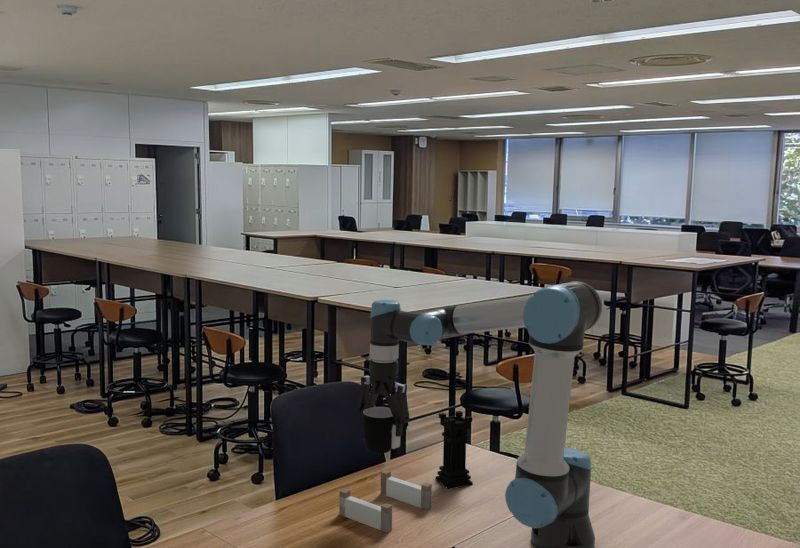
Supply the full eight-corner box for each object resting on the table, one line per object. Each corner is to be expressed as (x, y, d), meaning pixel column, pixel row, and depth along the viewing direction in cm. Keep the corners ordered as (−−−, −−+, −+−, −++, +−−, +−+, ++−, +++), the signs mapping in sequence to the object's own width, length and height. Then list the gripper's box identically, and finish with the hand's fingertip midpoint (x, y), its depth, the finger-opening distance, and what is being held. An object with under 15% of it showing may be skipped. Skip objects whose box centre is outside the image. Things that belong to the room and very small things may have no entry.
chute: (431, 507, 193) (431, 484, 192) (386, 532, 178) (387, 508, 177) (385, 491, 202) (385, 469, 202) (339, 514, 187) (339, 491, 187)
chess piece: (435, 478, 212) (436, 413, 210) (458, 474, 215) (460, 410, 213) (448, 489, 205) (450, 421, 203) (472, 484, 208) (474, 417, 206)
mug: (394, 456, 183) (395, 418, 182) (359, 454, 184) (360, 416, 183) (398, 440, 195) (399, 404, 194) (365, 438, 196) (366, 402, 195)
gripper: (425, 364, 183) (423, 449, 185) (362, 350, 196) (360, 430, 199) (408, 369, 177) (405, 457, 180) (343, 355, 190) (342, 437, 193)
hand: (381, 442), depth 189 cm, fingers closed on mug, 9 cm apart
